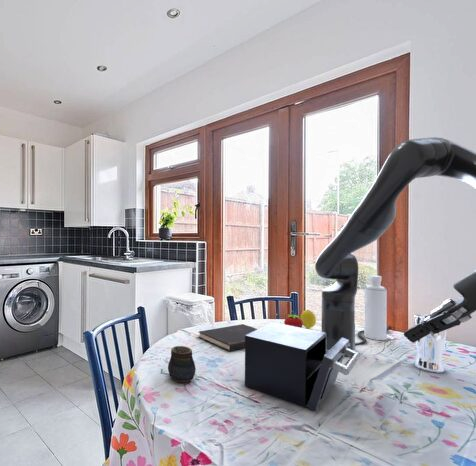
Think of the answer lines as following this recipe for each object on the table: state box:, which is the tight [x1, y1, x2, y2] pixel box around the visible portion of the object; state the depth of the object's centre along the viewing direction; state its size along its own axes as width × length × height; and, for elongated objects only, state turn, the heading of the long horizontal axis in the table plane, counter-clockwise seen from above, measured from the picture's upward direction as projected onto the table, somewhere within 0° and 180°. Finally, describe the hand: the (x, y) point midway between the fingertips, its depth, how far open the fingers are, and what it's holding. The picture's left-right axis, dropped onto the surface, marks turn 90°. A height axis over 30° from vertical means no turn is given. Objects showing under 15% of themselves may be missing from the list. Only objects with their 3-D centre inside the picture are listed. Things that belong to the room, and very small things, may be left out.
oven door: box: [306, 337, 361, 412], centre depth 74 cm, size 5×18×13 cm, turn 135°
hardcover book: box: [197, 323, 258, 352], centre depth 116 cm, size 16×23×2 cm
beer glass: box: [412, 313, 447, 374], centre depth 92 cm, size 7×7×15 cm
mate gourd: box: [167, 345, 197, 384], centre depth 84 cm, size 7×8×10 cm
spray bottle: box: [363, 275, 388, 341], centre depth 120 cm, size 7×7×25 cm
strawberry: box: [283, 312, 303, 328], centre depth 120 cm, size 6×8×10 cm
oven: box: [244, 321, 327, 409], centre depth 82 cm, size 14×18×13 cm
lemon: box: [299, 309, 317, 329], centre depth 130 cm, size 6×6×8 cm
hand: (407, 337), depth 65 cm, fingers closed
